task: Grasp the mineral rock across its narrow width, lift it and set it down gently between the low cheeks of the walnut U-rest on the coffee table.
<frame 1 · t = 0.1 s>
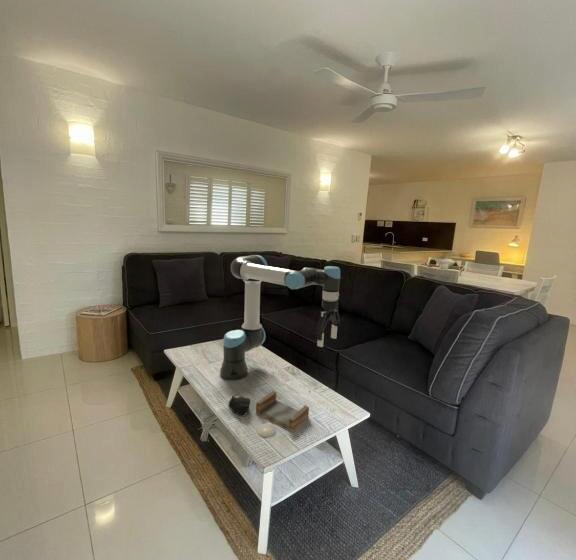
hand: (327, 342, 148), 28 cm above the table, fingers open, 13 cm apart
mineral: (241, 409, 139), on the table
rest: (281, 415, 136), on the table
cream glossy rounded part: (266, 431, 126), on the table
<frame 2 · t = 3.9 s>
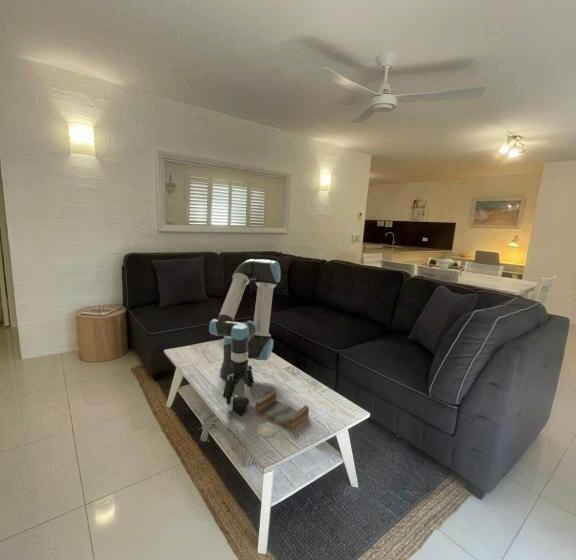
hand: (238, 404, 141), 1 cm above the table, fingers open, 10 cm apart
mineral: (239, 409, 140), on the table, touching gripper
everything else where it was.
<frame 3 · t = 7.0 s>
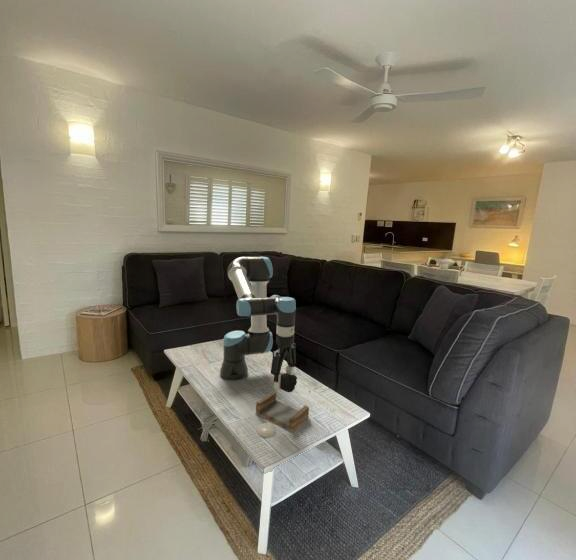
hand: (283, 383, 133), 15 cm above the table, fingers closed on mineral, 8 cm apart
mineral: (286, 386, 132), point 15 cm above the table, touching gripper
everything else where it was.
when the fingers open (3 cm above the table, at t = 9.6 s): mineral drops 1 cm, resting on rest.
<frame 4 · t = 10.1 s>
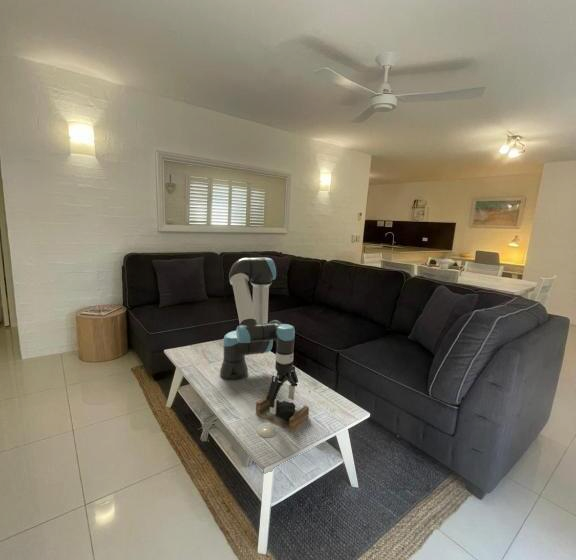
hand: (282, 405, 135), 5 cm above the table, fingers open, 13 cm apart
mineral: (285, 414, 135), point 1 cm above the table, touching rest
everything else where it was.
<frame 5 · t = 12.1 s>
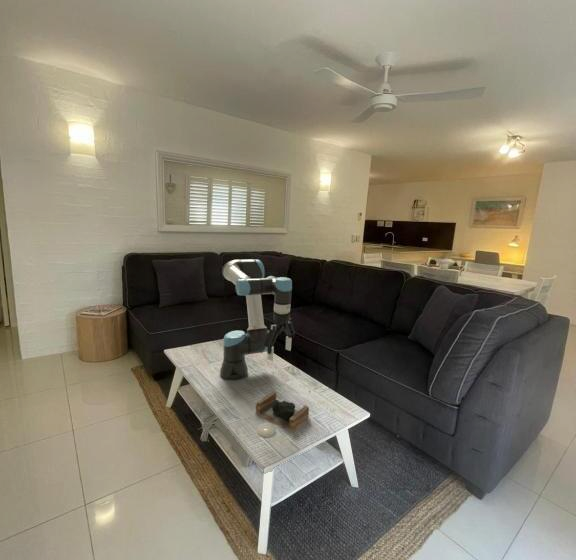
hand: (279, 354, 144), 23 cm above the table, fingers open, 13 cm apart
nothing on the table moved.
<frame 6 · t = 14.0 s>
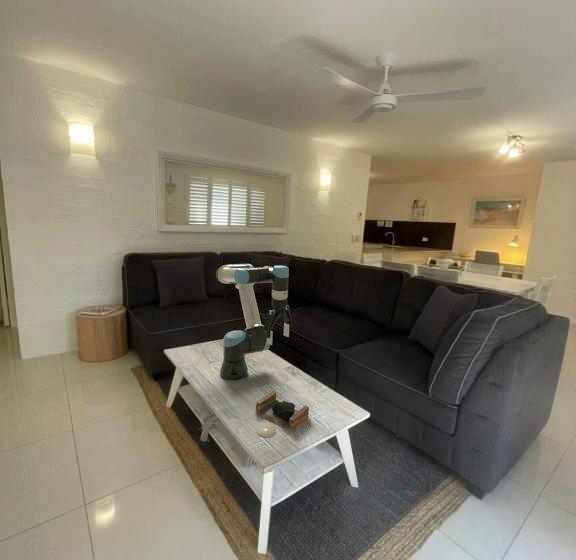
hand: (278, 339, 152), 27 cm above the table, fingers open, 13 cm apart
nothing on the table moved.
at the end: mineral inside the target area on the rest (1.8 cm from its centre), point 1.3 cm above the rest's base; the gripper is holding nothing; cream glossy rounded part moved 0.4 cm from its start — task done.
